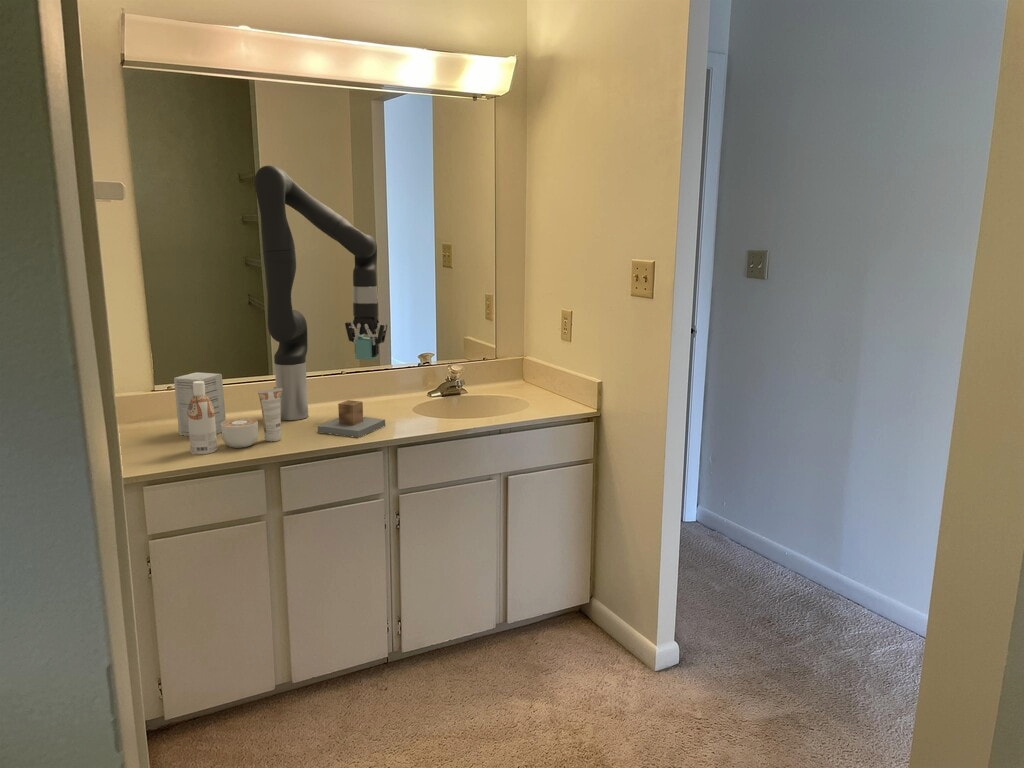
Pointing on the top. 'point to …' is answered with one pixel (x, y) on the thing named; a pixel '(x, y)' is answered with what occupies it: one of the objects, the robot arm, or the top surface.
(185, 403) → the supplement box
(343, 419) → the walnut block
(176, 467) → the top surface
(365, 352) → the teal block
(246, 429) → the cosmetic set
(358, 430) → the slate base
